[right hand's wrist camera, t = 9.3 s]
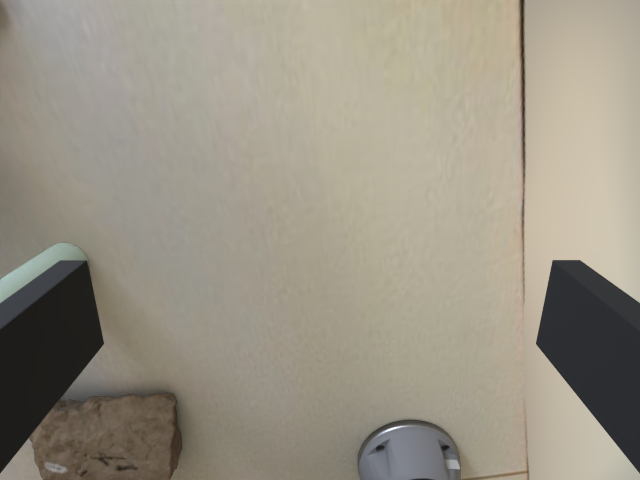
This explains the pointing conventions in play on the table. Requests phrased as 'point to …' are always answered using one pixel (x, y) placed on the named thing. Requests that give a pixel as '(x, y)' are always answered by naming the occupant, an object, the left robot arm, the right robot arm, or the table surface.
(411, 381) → the table surface
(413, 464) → the right robot arm
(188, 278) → the table surface
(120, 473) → the stone
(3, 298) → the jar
